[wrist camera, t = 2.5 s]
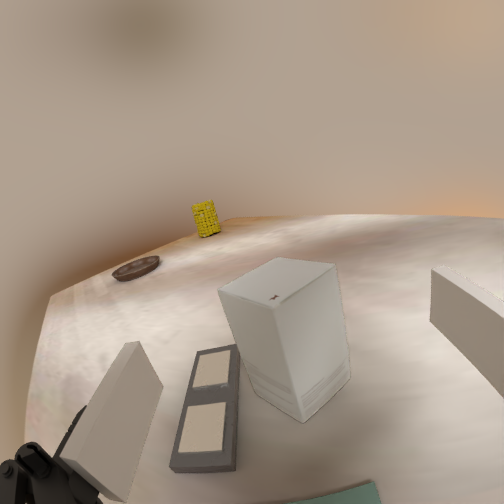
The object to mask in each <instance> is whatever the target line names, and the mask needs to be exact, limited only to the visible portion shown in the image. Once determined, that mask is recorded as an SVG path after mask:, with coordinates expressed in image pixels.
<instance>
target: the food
mask: <svg viewBox="0 0 504 504" xmlns="http://www.w3.org/2000/svg"><path fill="white" fill-rule="evenodd" d="M191 208H192V212H193V215H194V219H195V223H196V226H197V229H198V233H199V236H200V237H206V236H209V235H211V234H213V233H215V232H220V230H221V229H220V226H219V221H218V217H217V214H216V211H215V207H214V203H213V201H212V200H209V201H205V202H203V203H200V204H199V203H197V204H195V205H193V206H192V207H191Z"/></svg>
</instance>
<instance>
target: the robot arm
mask: <svg viewBox="0 0 504 504" xmlns="http://www.w3.org/2000/svg"><path fill="white" fill-rule="evenodd" d="M430 322H431V323H432V324H433V325H434V326H435V327H436V328H437V329H438V330H439V331H440V332H441V333H442V334H443V335H444V336H445V337H446V338H447V339H448V340H449V341H450V342H451V343H452V344H453V345H454V346H455V347H456V348H457V349H458V350H459V351H460V352H461V353H462V354H463V355H464V356H465V357H466V358H467V359H468V360H469V361H470V362H471V363H472V364H473V365H474V366H475V367H476V368H477V369H478V370H479V371H480V373H481V374H482V375H483V376H484V377H485V378H486V379H487V380H488V381H489V382H490V383H491V385H492V386H493V387H494V388H495V389H496V390H497V391H498V392H499V394H500V395H501V396H502V397H503V398H504V301H502V300H501V299H499V298H498V297H496V296H495V295H493V294H492V293H490V292H488V291H487V290H485V289H484V288H482V287H481V286H479V285H477V284H476V283H474V282H472V281H471V280H469V279H468V278H466V277H464V276H463V275H461V274H459V273H458V272H456V271H454V270H452V269H451V268H449V267H447V266H445V265H441V266H439V267H436V268H433V269H431V308H430ZM162 390H163V385H162V383H161V381H160V380H159V378H158V376H157V374H156V372H155V370H154V369H153V367H152V365H151V363H150V361H149V359H148V357H147V355H146V353H145V351H144V350H143V348H142V346H141V344H140V341H137V342H130V343H125V345H124V346H123V348H122V349H121V351H120V352H119V354H118V356H117V357H116V359H115V360H114V362H113V364H112V365H111V367H110V368H109V370H108V372H107V373H106V375H105V377H104V378H103V380H102V382H101V383H100V385H99V386H98V388H97V390H96V392H95V393H94V395H93V397H92V398H91V400H90V402H89V403H88V405H86V406H85V407H84V408H83V409H81V410H80V411H79V412H78V413H77V415H76V417H75V418H74V420H73V422H72V425H70V427H69V429H68V432H66V434H65V436H64V438H63V440H62V441H61V443H60V445H59V447H58V449H57V451H56V452H55V454H54V456H53V458H51V457H50V456H49V455H48V454H47V453H46V452H45V451H44V449H43V448H42V447H41V446H40V445H39V444H37V443H36V442H29V443H26V444H24V445H23V446H21V447H20V448H19V449H18V451H17V453H16V455H15V460H10V459H9V460H6V461H4V462H3V463H2V464H1V465H0V504H25V503H26V504H103V503H102V501H101V500H100V499H99V498H98V494H99V492H100V493H101V494H103V495H104V496H105V497H107V498H108V499H110V500H114V501H119V502H124V503H127V499H128V496H129V492H130V489H131V486H132V482H133V479H134V476H135V472H136V469H137V466H138V463H139V459H140V456H141V453H142V450H143V447H144V444H145V441H146V437H147V434H148V431H149V428H150V425H151V422H152V419H153V416H154V413H155V410H156V407H157V404H158V402H159V399H160V396H161V393H162Z"/></svg>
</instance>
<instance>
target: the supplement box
mask: <svg viewBox="0 0 504 504" xmlns="http://www.w3.org/2000/svg"><path fill="white" fill-rule="evenodd" d="M217 291H218V294H219V297H220V300H221V303H222V306H223V309H224V312H225V314H226V317H227V320H228V323H229V325H230V328H231V331H232V333H233V336H234V339H235V341H236V344H237V347H238V349H239V352H240V355H241V357H242V360H243V362H244V365H245V368H246V370H247V373H248V375H249V378H250V381H251V383H252V386H253V388H254V391H255V393H256V394H257V395H259V396H260V397H262V398H263V399H265V400H266V401H268V402H269V403H271V404H272V405H274V406H275V407H277V408H278V409H280V410H281V411H283V412H285V413H286V414H288V415H289V416H291V417H293V418H294V419H296V420H298V421H299V422H301V423H304V422H306V421H307V420H308V419H309V418H310V417H311V416H313V415H314V414H315V413H316V412H317V411H318V410H319V409H320V408H321V407H322V406H323V405H324V404H325V403H326V402H327V401H329V400H330V399H331V398H332V397H333V396H334V395H335V394H336V393H337V392H338V391H339V390H340V389H341V388H342V387H343V386H344V385H345V384H346V383H347V381H348V380H349V379H350V378H351V371H350V360H349V352H348V343H347V335H346V327H345V320H344V312H343V306H342V299H341V293H340V287H339V281H338V275H337V269H336V264H334V263H324V262H315V261H306V260H298V259H289V258H282V257H276V258H274V259H272V260H270V261H268V262H267V263H265V264H263V265H261V266H259V267H257V268H255V269H253V270H252V271H250V272H248V273H246V274H244V275H242V276H241V277H239V278H237V279H235V280H233V281H232V282H230V283H228V284H226V285H224V286H222V287H221V288H219V289H217Z"/></svg>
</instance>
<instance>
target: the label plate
mask: <svg viewBox="0 0 504 504" xmlns="http://www.w3.org/2000/svg"><path fill="white" fill-rule="evenodd" d="M239 364H240V352H239V349H238V347H237V344H233V345H228V346H223V347H218V348H213V349H208V350H202V351H197V354H196V358H195V362H194V366H193V369H192V373H191V377H190V381H189V385H188V389H187V393H186V397H185V401H184V405H183V409H182V413H181V418H180V422H179V426H178V430H177V434H176V439H175V443H174V447H173V452H172V456H171V460H170V465H169V467H170V468H171V469H172V470H173V471H174V472H175V473H213V472H229V471H235V468H236V440H237V413H238V388H239Z"/></svg>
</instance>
